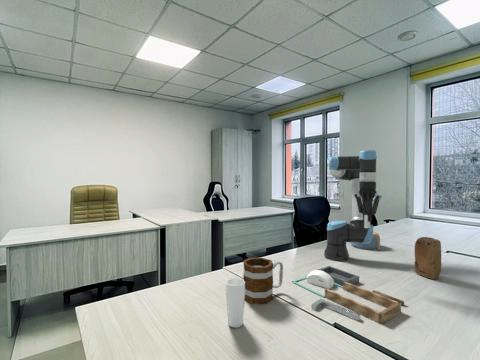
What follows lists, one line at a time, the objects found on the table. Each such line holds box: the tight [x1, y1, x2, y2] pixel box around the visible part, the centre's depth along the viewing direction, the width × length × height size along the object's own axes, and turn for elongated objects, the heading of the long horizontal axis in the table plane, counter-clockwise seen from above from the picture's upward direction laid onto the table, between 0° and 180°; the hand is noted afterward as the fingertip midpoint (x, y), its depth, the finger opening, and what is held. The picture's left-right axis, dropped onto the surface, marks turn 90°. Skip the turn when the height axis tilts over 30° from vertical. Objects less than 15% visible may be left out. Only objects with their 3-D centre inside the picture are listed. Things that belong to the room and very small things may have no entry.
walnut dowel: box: [371, 289, 405, 307], centre depth 107 cm, size 12×2×2 cm
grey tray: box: [316, 265, 360, 286], centre depth 128 cm, size 17×11×3 cm, turn 34°
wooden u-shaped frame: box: [324, 282, 402, 325], centre depth 102 cm, size 24×14×4 cm, turn 34°
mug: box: [242, 257, 284, 305], centre depth 110 cm, size 20×14×15 cm
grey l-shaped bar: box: [310, 298, 361, 321], centre depth 95 cm, size 16×7×2 cm, turn 42°
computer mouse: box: [306, 269, 335, 290], centre depth 122 cm, size 6×13×6 cm, turn 50°
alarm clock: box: [349, 230, 381, 251], centre depth 187 cm, size 19×20×12 cm
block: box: [414, 236, 442, 280], centre depth 132 cm, size 11×8×20 cm
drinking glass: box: [225, 277, 246, 329], centre depth 88 cm, size 7×7×15 cm
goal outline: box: [291, 275, 343, 298], centre depth 120 cm, size 19×16×1 cm
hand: (367, 227), depth 126 cm, fingers closed
